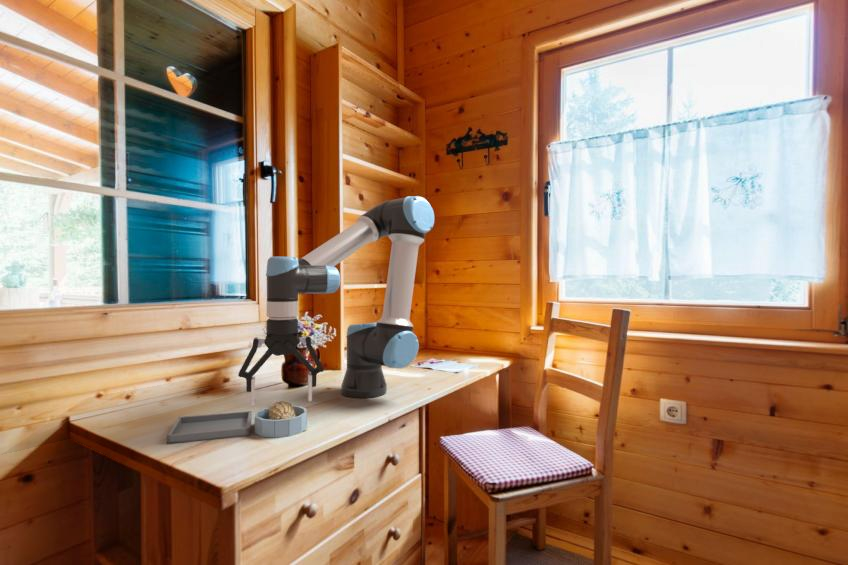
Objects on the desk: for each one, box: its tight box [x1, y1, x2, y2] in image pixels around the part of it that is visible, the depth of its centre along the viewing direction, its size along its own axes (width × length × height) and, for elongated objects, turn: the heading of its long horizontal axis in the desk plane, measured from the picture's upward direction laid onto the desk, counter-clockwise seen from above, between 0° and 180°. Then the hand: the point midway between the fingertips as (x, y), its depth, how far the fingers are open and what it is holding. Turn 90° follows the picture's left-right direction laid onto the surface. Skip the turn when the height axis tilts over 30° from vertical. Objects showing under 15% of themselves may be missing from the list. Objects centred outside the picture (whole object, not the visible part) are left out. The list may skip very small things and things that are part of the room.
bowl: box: [254, 404, 308, 438], centre depth 109 cm, size 12×12×4 cm
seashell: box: [268, 400, 296, 420], centre depth 109 cm, size 8×6×10 cm
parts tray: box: [166, 410, 253, 445], centre depth 108 cm, size 17×14×2 cm
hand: (282, 402), depth 109 cm, fingers open, 13 cm apart
